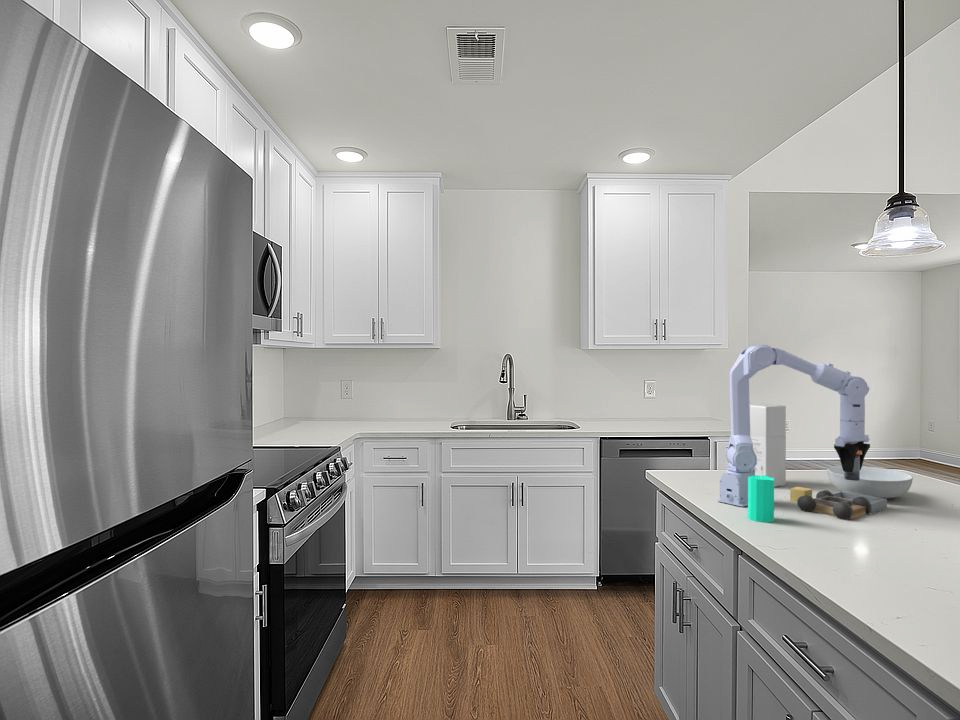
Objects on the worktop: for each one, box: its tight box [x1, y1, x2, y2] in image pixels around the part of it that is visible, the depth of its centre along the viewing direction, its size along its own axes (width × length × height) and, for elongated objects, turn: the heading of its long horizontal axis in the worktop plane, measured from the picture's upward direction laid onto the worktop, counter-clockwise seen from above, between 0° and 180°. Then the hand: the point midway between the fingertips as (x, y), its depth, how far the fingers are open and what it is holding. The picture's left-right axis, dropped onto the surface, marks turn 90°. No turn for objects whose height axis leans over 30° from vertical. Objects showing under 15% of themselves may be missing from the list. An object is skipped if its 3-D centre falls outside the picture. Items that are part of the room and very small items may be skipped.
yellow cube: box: [789, 486, 813, 503], centre depth 170 cm, size 4×4×4 cm
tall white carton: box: [750, 403, 787, 488], centre depth 191 cm, size 9×9×25 cm
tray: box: [831, 490, 888, 515], centre depth 164 cm, size 9×12×2 cm
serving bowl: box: [827, 465, 914, 499], centre depth 176 cm, size 21×21×7 cm
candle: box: [747, 475, 775, 523], centre depth 151 cm, size 6×6×12 cm
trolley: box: [796, 489, 871, 520], centre depth 158 cm, size 13×11×4 cm
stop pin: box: [844, 450, 862, 481], centre depth 163 cm, size 4×4×8 cm
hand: (852, 470), depth 164 cm, fingers closed on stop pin, 4 cm apart
